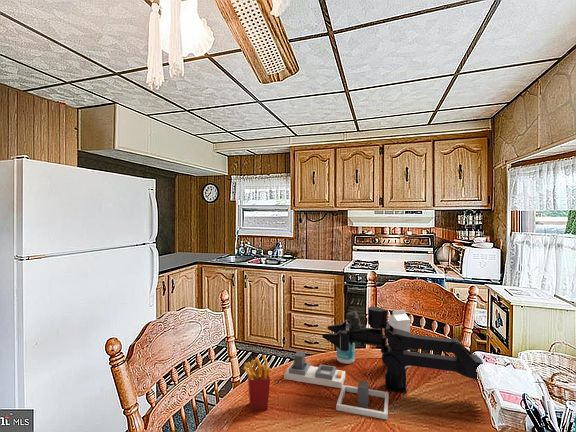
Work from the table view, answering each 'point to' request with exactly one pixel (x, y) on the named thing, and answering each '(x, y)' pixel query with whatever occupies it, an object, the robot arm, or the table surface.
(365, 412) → the white square frame
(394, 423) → the table surface
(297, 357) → the plug
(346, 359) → the pill bottle
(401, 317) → the milk
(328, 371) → the power strip
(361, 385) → the plug
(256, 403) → the french fries
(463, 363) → the robot arm
